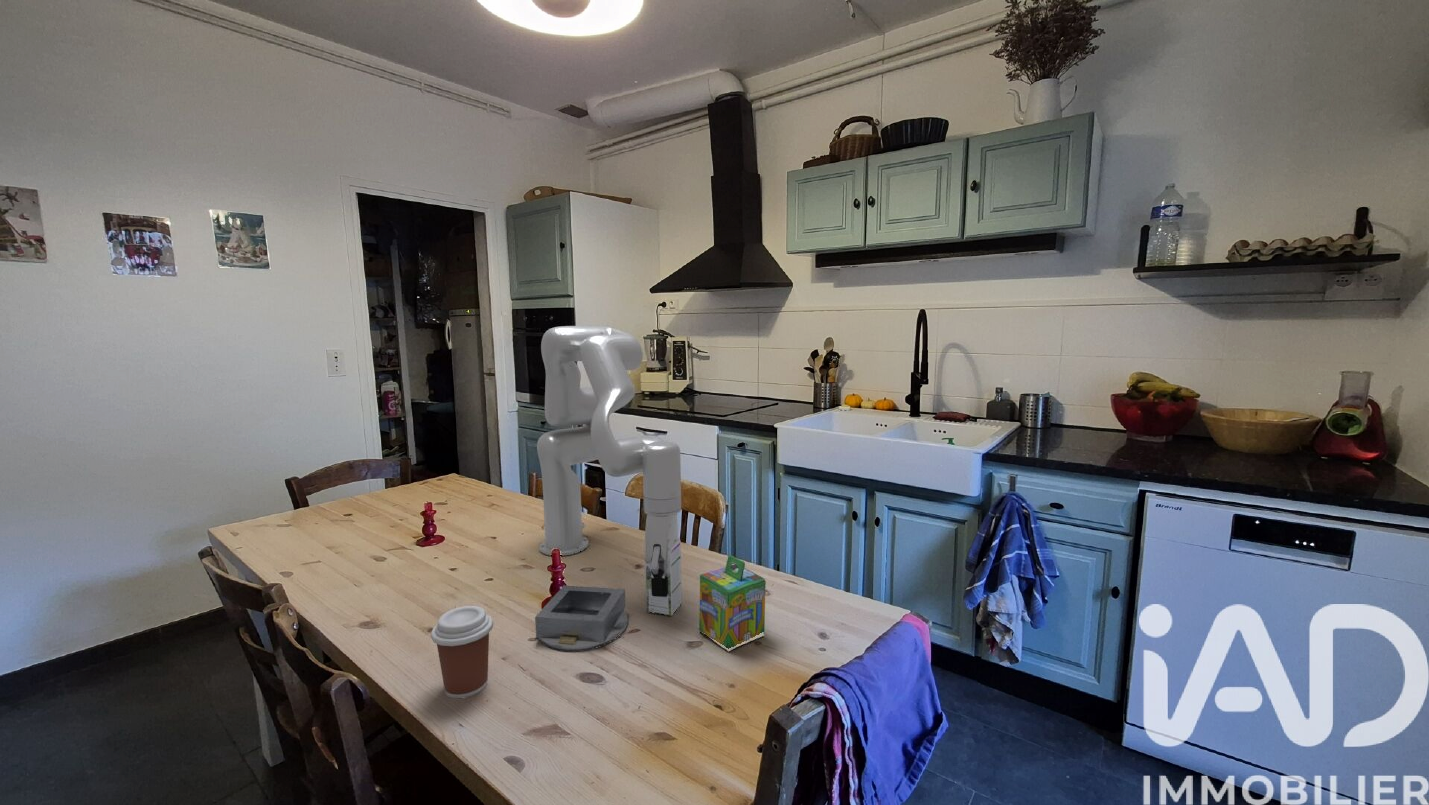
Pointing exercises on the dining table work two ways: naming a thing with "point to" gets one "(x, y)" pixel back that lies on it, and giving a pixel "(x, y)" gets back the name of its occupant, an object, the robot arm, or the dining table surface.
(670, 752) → the dining table surface
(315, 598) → the dining table surface
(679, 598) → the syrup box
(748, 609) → the chalk box
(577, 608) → the open box
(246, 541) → the dining table surface
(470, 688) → the coffee cup
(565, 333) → the robot arm
